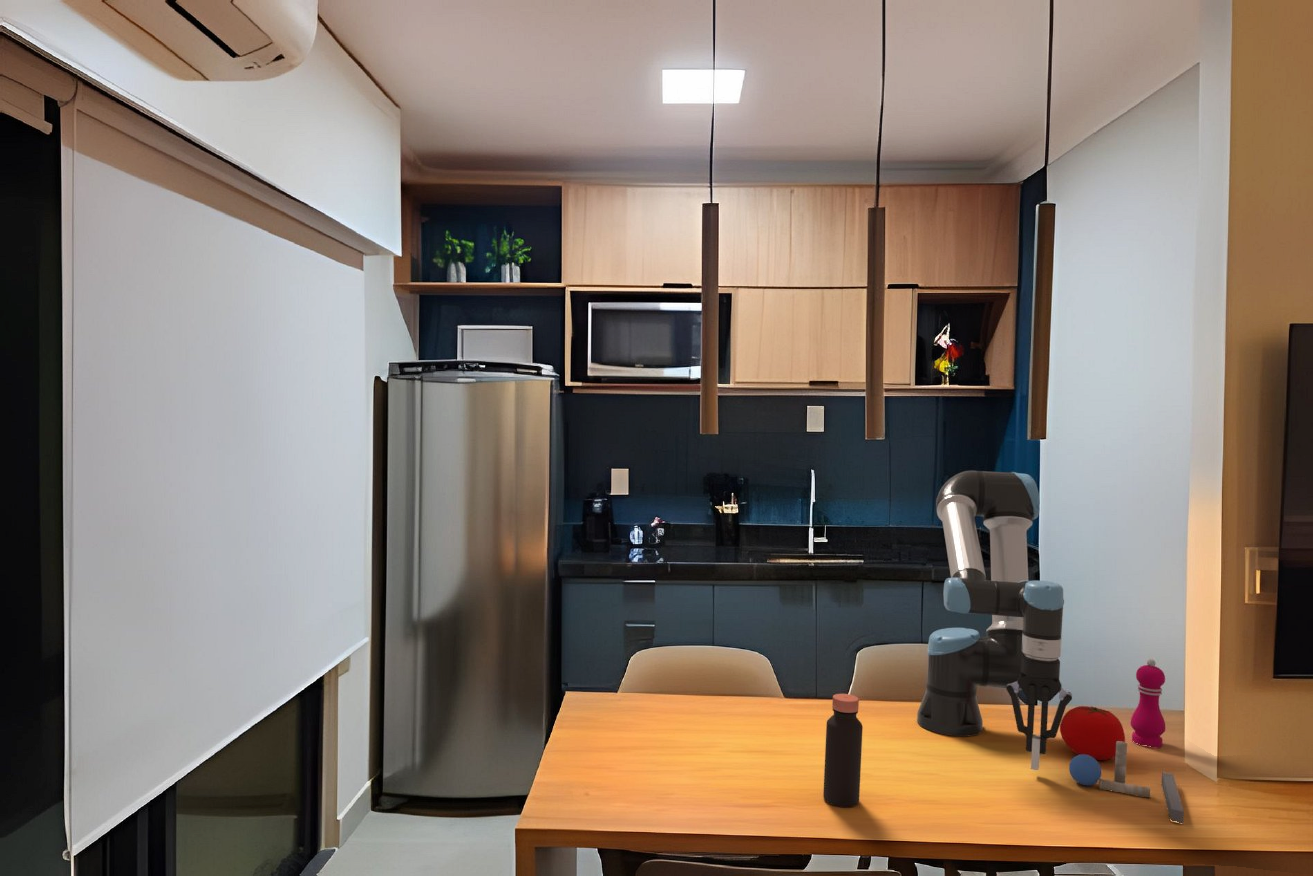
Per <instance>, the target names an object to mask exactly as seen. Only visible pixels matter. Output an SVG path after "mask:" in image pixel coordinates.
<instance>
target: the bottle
mask: <svg viewBox="0 0 1313 876" xmlns="http://www.w3.org/2000/svg"><path fill="white" fill-rule="evenodd" d="M859 701H860V700H859V697H857V696H856V695H852V694H850V693H849V694H848V693H836V694H834V695H832V701H831V702H832V706H831V707H832V711H833V714H832V715H831V716H830V717H829V718H828V719H827V720H826V730H825V731H826V732H825V746H824V747H825V748H824V749H825V750H824V751H825V752H824V753H825V754H824V770H823V771H824V773H823V790H822V791H823V793H822V794H823V795H822V796H823V800H824V801H825V802H826V803H827V804H829V805H831V806H834V807H838V808H853V807H855V806H857V805H858V804H859V803H860V795H861V794H860V791H861V788H860V787H861V769H862V748H863V747H862V745H863V729H864V728H863V724H862V722H861V721H860V720H859V718H858V717H857V715H858V713H859V708H860V707H859V704H860V703H859Z"/></svg>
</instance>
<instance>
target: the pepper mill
mask: <svg viewBox="0 0 1313 876" xmlns="http://www.w3.org/2000/svg"><path fill="white" fill-rule="evenodd" d="M1156 665H1157V664H1156V661H1155V660H1154V659H1152V658H1150V659H1149V658H1148V659H1147V662H1146V664H1145V665H1141V666H1139V668H1138V669H1137V670H1136V672H1135V677H1136V680H1137V682H1138V683H1139V684H1137V691H1138V693H1139V700H1138V701H1139V702H1138V705H1137V707H1136V708H1135V709H1134V711H1133V713H1132V714H1131V718H1130V726H1131V728H1132V729H1133V731H1134V732H1132V735H1131V741H1132V742H1133V741H1134V742H1135V743H1138V744H1140V745H1147V746H1151V747H1160V748H1162V747H1163V738H1162V735H1163V734H1164V733H1165V732H1166V721H1165V718H1164V716H1163V714H1162V711H1161V709H1160V696H1161V695H1162V694H1163V688H1162V686H1163V685H1164V684H1165V682H1166V675H1165V673H1164V671H1163V669H1161V668H1159V667H1158V666H1156ZM1134 742H1133V743H1134ZM1135 743H1134V744H1135ZM1138 744H1137V745H1138ZM1140 745H1139V746H1140ZM1161 746H1162V747H1161Z"/></svg>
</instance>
